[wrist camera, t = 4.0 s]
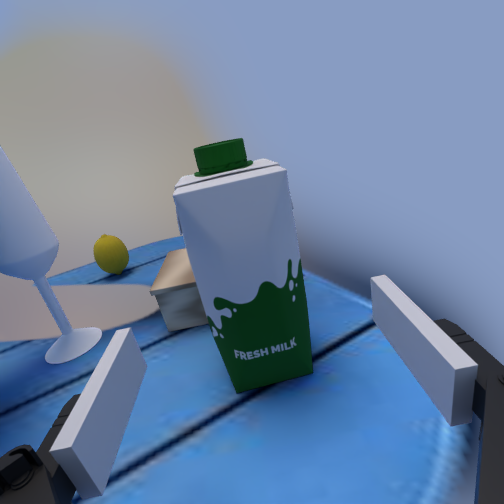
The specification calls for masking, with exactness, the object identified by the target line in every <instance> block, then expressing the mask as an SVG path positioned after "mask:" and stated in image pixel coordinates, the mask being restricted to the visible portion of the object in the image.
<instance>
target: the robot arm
mask: <svg viewBox="0 0 504 504" xmlns="http://www.w3.org/2000/svg"><path fill="white" fill-rule="evenodd" d="M371 292H372V311H373V321H374V322H375V323H376V325H377V326H378V328H379V329H380V330H381V332H382V333H383V334H384V336H385V337H386V339H387V340H388V341H389V343H390V344H391V345H392V347H393V348H394V349H395V351H396V352H397V354H398V355H399V356H400V358H401V359H402V360H403V362H404V363H405V365H406V366H407V367H408V369H409V370H410V371H411V373H412V374H413V375H414V377H415V378H416V380H417V381H418V382H419V384H420V385H421V386H422V388H423V389H424V391H425V392H426V393H427V395H428V396H429V397H430V399H431V400H432V402H433V403H434V404H435V406H436V407H437V408H438V410H439V411H440V412H441V414H442V415H443V417H444V418H445V419H446V421H447V422H448V423H449V425H450V426H455V425H460V424H466V423H470V422H472V414H473V411H474V413H475V414H476V415H477V416H478V417H479V418H480V420H481V427H480V435H479V453H478V465H477V476H476V489H475V501H474V504H504V366H503V365H502V364H501V363H500V362H499V361H497V360H496V359H495V358H494V357H493V356H492V355H491V354H490V353H488V352H487V351H486V350H485V349H484V348H483V347H482V346H481V345H479V344H478V343H477V342H476V341H474V339H473V338H471V337H470V336H469V335H467V334H466V332H465V331H464V330H462V329H461V328H460V327H459V326H458V325H456V324H454V323H452V322H450V321H448V320H446V319H440V320H436V321H432V320H431V319H430V318H429V317H428V316H427V315H426V314H425V313H424V312H423V311H422V310H421V309H420V308H419V307H418V306H417V305H416V304H415V303H414V302H413V301H411V299H409V298H408V297H407V296H406V295H405V294H404V293H403V292H402V291H401V290H400V289H399V288H398V287H397V286H396V285H395V284H394V283H393V282H392V281H391V280H390V279H389V278H388V277H387V276H385V275H381V276H377V277H371ZM146 369H147V364H146V362H145V360H144V358H143V355H142V353H141V351H140V348H139V346H138V344H137V341H136V339H135V337H134V335H133V332H132V330H131V328H126V329H121V330H117V331H116V333H115V334H114V336H113V338H112V340H111V342H110V343H109V345H108V347H107V349H106V350H105V352H104V354H103V356H102V358H101V359H100V361H99V363H98V365H97V367H96V368H95V370H94V372H93V374H92V376H91V377H90V379H89V381H88V383H87V384H86V386H85V388H84V390H83V392H82V393H81V394H77V395H74V396H73V397H72V398H71V399H70V400H69V401H68V402H67V403H66V404H65V405H64V407H63V408H62V410H61V412H60V413H59V415H58V418H57V419H56V420H55V422H54V423H53V425H52V428H50V430H49V432H48V433H47V435H46V437H45V438H44V440H43V442H42V444H41V445H40V447H39V449H38V450H37V452H35V451H34V450H33V448H32V447H31V446H30V445H21V446H18V447H16V448H14V449H12V450H10V451H8V452H7V453H6V454H5V455H3V456H2V457H1V458H0V504H72V502H71V500H72V498H73V496H74V493H75V491H77V492H78V493H79V495H80V496H81V498H82V499H87V498H92V497H97V496H102V495H103V492H104V489H105V487H106V484H107V481H108V478H109V475H110V472H111V469H112V466H113V464H114V461H115V458H116V455H117V452H118V449H119V446H120V444H121V441H122V438H123V435H124V432H125V429H126V426H127V423H128V421H129V418H130V415H131V412H132V409H133V406H134V403H135V400H136V398H137V395H138V392H139V389H140V386H141V383H142V380H143V377H144V375H145V372H146Z"/></svg>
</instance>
